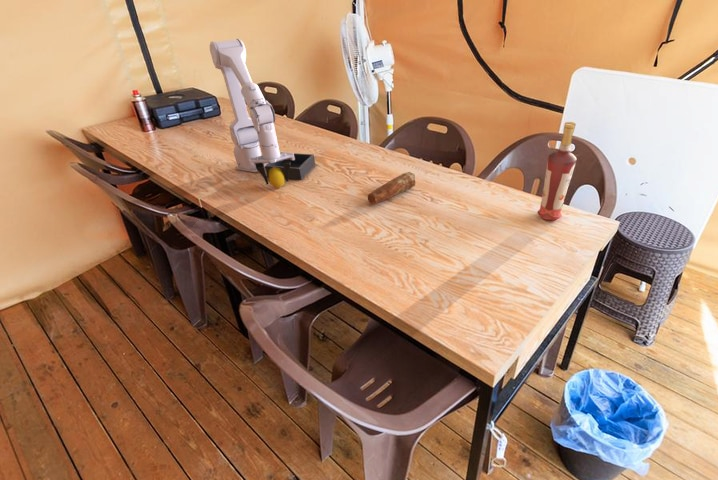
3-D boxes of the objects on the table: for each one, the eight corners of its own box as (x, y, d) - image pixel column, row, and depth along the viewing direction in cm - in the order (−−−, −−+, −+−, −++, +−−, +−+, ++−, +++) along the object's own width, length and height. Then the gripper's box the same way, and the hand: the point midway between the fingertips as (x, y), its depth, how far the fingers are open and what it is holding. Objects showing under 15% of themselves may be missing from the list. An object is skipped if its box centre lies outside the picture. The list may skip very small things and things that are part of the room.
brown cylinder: (417, 189, 138) (417, 173, 135) (374, 208, 128) (373, 192, 124) (404, 183, 142) (404, 168, 138) (362, 201, 131) (361, 186, 128)
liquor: (557, 226, 117) (581, 129, 100) (532, 219, 120) (552, 125, 103) (564, 215, 122) (588, 121, 105) (540, 209, 125) (559, 117, 108)
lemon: (282, 192, 138) (278, 170, 133) (268, 191, 139) (262, 169, 134) (289, 185, 142) (285, 164, 138) (275, 184, 143) (270, 163, 139)
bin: (267, 177, 148) (264, 166, 146) (283, 163, 159) (281, 152, 156) (301, 180, 146) (299, 168, 143) (315, 165, 156) (313, 154, 154)
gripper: (245, 150, 126) (256, 190, 135) (292, 144, 130) (299, 183, 138) (245, 143, 132) (255, 181, 140) (290, 137, 135) (297, 175, 143)
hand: (277, 181), depth 139 cm, fingers open, 6 cm apart
